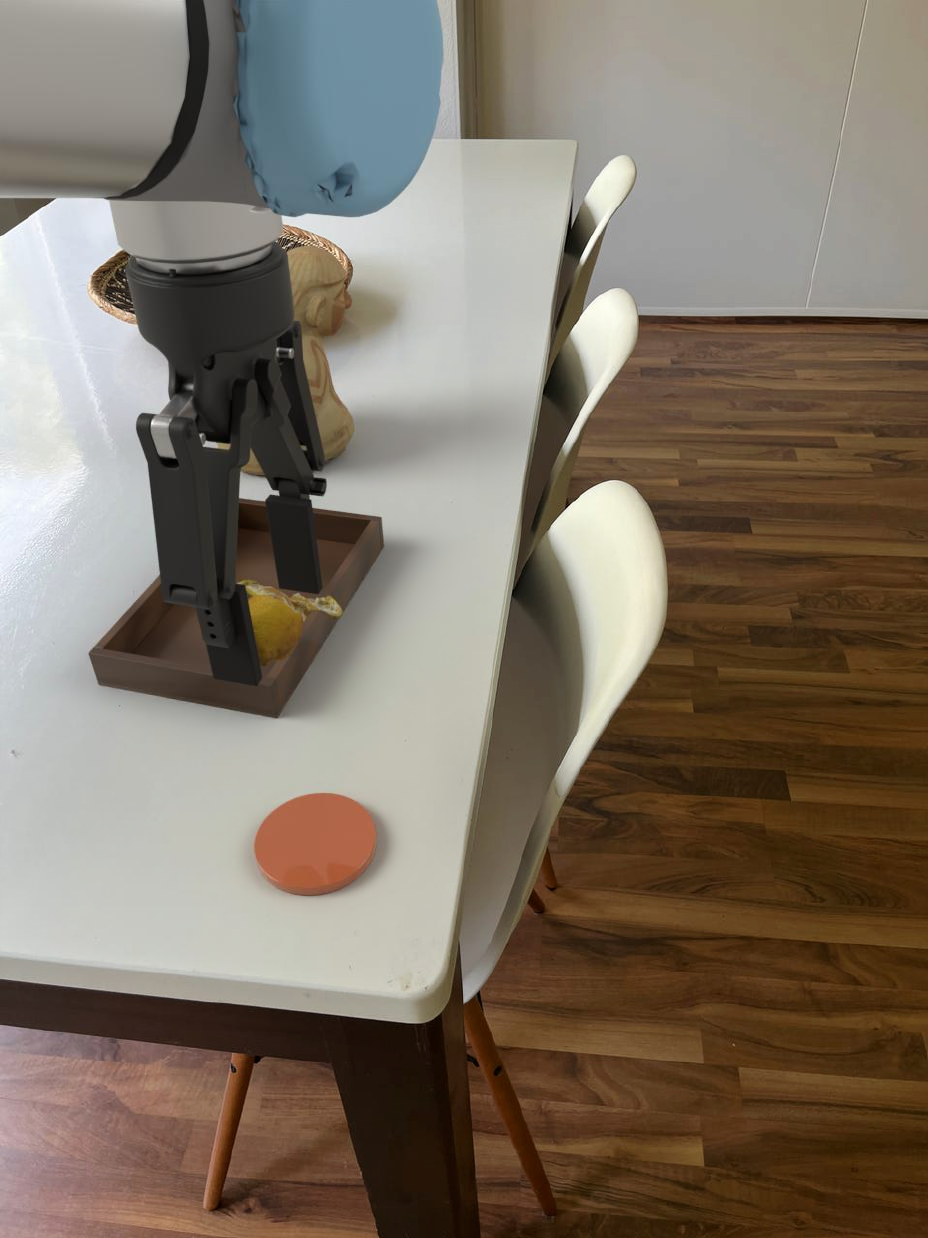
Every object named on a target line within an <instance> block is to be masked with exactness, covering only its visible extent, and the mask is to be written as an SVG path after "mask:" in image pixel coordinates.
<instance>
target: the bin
mask: <svg viewBox="0 0 928 1238" xmlns="http://www.w3.org/2000/svg"><path fill="white" fill-rule="evenodd" d="M312 508H313V516H314V524H315V531H316V539H317V547H318V555H319V562H320V570H321V578H322V586H323V588H322V590H321V591H320V593H319V594H312V593H306V592H299V591H292V590H286V589H279V584H278V578H277V572H276V566H275V560H274V553H273V547H272V541H271V535H270V529H269V522H268V516H267V510H266V504H265V500H257V499H250V498H243V497H239V511H238V533H237V555H236V577H235V583H238V582H242V581H243V580H251V581H257V582H258V583H260V585H262V586H270V587H273V588H275V589H277V590H279V591H281V592H283V593H284V594H286V595H287V596H288V597H289V598H291V597H292V596H293V595H294V594H297V593H300V595H301V596H303V597H304V598H306V599H314V600H316V598H323V597H324V598H325V597H327V596H331V597H332V598H333V599H334V600H336V602H337V603H338V605H339V606H340V607H341V609H342V614H343V613H344V612H345V610H346V608H347V607H348V605H349V604H350V602H351V601H352V599H353V597H354V595H355V594H356V592H357V590H358V589H359V587H360V586H361V584H362V583H363V581H364V580H365V578H366V577H367V574H368V573H369V572H370V570H371V568H372V567H373V565H374V563H375V562H376V561H377V559H378V557H379V555H380V554H381V552H382V551H383V549H384V547H385V541H384V529H383V528H384V527H383V519H382V518H383V517H382V516H379V515H378V516H377V515H369V514H362V513H356V512H355V513H354V512H348V511H347V512H346V511H340V510H333V509H324V508H317V507H312ZM340 618H341V616H340V617H339V618H335V619H334V618H333V617H332V616H331V615H329V614H328V613H327V612H325V611H323V610H312V611H311V612H310V613H309V615H308V616H307V618H306V620H305V621H304V622H303V623H302V624H303V626H302V637H301V639H300V640H299V641H298V642H297V643H296V645H295V646H294V648H293V649H292V650H291V653H290V654H291V655H290V656H287V657H286V658H284V659H282V660H279V661H278V660H273V661H271V662H270V663H269V664H267V665H266V666H261V665H260V667H261V672H262V680H261V681H260V683H259V684H258V686H252V685H246V684H241V683H235V682H229V681H224V680H218V679H214V678H213V674H212V669H211V665H210V661H209V656H208V652H207V648H206V644H205V642H204V641H203V640H202V635H201V630H200V624H199V621H198V617H197V613H196V608H195V607H192V606H185V605H179V604H173V603H167V602H165V601H164V600H163V596H162V588H161V579H160V574H159V575H158V576H157V577H156V578H155V579H154V580H153V582H152V583H150V585H149V586H147V588H146V589H145V590H144V591H143V592H142V593H141V595H140V596H139V597H138V598H137V599H136V600H135V601H134V602H133V603H132V604H131V606H130V607H128V608H127V610H126V611H125V612H124V614H122V616H120V618H119V619H118V620H117V621H116V622H115V623H114V624H113V625H112V627H110V628H109V630H108V631H107V632H105V634H104V635H103V636H102V637H101V638H100V640H99V641H98V642H96V644H95V645H94V646H93V647H92V648H91V649H90V651H88V653H87V654H88V657H89V661H90V663H91V666H92V669H93V672H94V676H95V678H96V681H97V684H98V685H100V686H103V687H109V688H114V689H120V690H125V691H130V692H136V693H142V694H147V695H152V696H157V697H163V698H167V699H172V700H178V701H183V702H188V703H189V702H190V703H195V704H199V705H206V706H211V707H216V708H221V709H226V710H232V711H236V712H237V711H238V712H241V713H242V712H243V713H246V714H247V713H248V714H253V715H258V716H264V717H270V718H275V719H278V717H279V716H280V715H281V712H282V711H283V709H284V708H285V706H286V704H287V703H288V701H289V700H290V698H291V697H292V695H293V693H294V692H295V690H296V688H297V687H298V685H299V684H300V682H301V680H302V679H303V677H304V676H305V674H306V672H307V671H308V669H310V666H311V665H312V663H313V661H315V658H316V657H317V656H318V654H319V652H320V650H321V649H322V647H323V645H324V644H325V642H326V641H327V639H328V637H329V636H330V634H331V632H332V631H333V629H334V627H335V626H336V624H337V623H338V621H339V620H340Z"/></svg>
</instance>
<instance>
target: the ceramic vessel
mask: <svg viewBox="0 0 928 1238" xmlns="http://www.w3.org/2000/svg"><path fill="white" fill-rule="evenodd" d="M286 252H287V254H288V262H289V270H290V278H291V286H292V294H293V303H294V311H295V316H294V320H295V321H299V322H300V324H301V329H302V345H303V361H304V365H305V370H306V374H307V379H308V383H309V388H310V392H311V397H312V401H313V406H314V410H315V415H316V419H317V424H318V428H319V433H320V437H321V442H322V446H323V451H324V455H325V462H327V461H329V460H331V459H333V458H337V457H339V456H340V455H342V454H343V453H344V452H345V451H346V450H347V447H348V445H349V443H350V442H351V440H352V438H353V437H354V434H355V423H354V419H353V417H352V414H351V413H350V411H349V409H348V407H347V406H346V405H345V404H344V402H343V401H342V400H341V399H340V397H339V395H338V393H337V391H336V390H335V386H334V384H333V383H334V382H333V380H332V375H331V369H330V363H329V360H328V357H327V355H326V351H325V349H324V345H323V341H322V340H323V338H325V337H334V336H335V335H336V334H337V333H338V331H339V330H340V329H341V328H342V325H343V323H344V321H345V312H346V310H348V309H350V308H351V307H352V304H353V299H352V295H351V294H350V293H349V292H348V290H347V289H346V287H345V280H346V278H347V271H346V269H345V267H344V266H343V264H342V263H341V261H340V260H339V259H338V257H336V256H335V255H334V254H333V253H331V252H330V251H328V250H326V249H325V248H322V247H320V246H314V245H303V246H298V247H294V248H292V249H289V250H288V251H286ZM216 446H217V448H219V449H229V448H230V444H224V443H216ZM300 446H301V445H300ZM301 448H302V449H303V450H307V449H306V446H301ZM240 472H244V473H247V474H251V475H257V476H265V475H264V473H263V471H262V469H261V467H260V465H259V463H258V461H257V459H256V457H255V455H254V453H253V451H252V449H251V447H250V459H249V462H248V463H247V464H246V465H245V466H243V467H242V468H241V470H240Z"/></svg>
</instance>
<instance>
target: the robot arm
mask: <svg viewBox="0 0 928 1238" xmlns="http://www.w3.org/2000/svg"><path fill="white" fill-rule="evenodd" d="M443 64H444V34H443V26H442V20H441V13H440V9H439V3H438V0H0V199H103V200H106V201H108V202H109V203H108V204H109V207H110V212H111V217H112V221H113V226H114V231H115V236H116V241H117V245H118V246H119V247H120V248H121V249H122V250H123V251H124V252H126V253H127V254H128V255H131V256H130V257H129V260H128V262H127V263H126V264H125V268H124V269H125V275H126V280H127V285H128V289H129V292H130V297H131V302H132V306H133V311H134V315H135V320H136V325H137V328H138V331H139V334H140V335H141V337H142V338H143V339H144V340H145V341H146V342H147V343H148V344H150V345H151V346H153V347H154V348H155V349H156V350H158V351H159V352H160V353H161V354H162V355H163V356H164V357H165V359H166V361H167V364H168V365H167V366H168V385H167V392H168V393H167V395H168V399H169V401H168V403H167V404H166V405H165V406H164V408H163V409H162V410H161V411H160V412H159V413H151V412H141V413H140V414H139V415H138V416H137V418H136V422H135V432H136V435H137V437H138V441H139V444H140V446H141V449H142V451H143V455H144V457H145V460H146V463H147V472H148V480H149V481H148V482H149V489H150V497H151V506H152V507H151V508H152V517H153V525H154V534H155V543H156V552H157V561H158V571H159V575H160V579H161V588H162V596H163V600H164V601H165V602H167V603H173V604H179V605H185V606H192V607H195V608H196V613H197V617H198V621H199V624H200V630H201V635H202V639H203V641H204V642H205V644H206V647H207V652H208V656H209V661H210V665H211V669H212V674H213V678H214V679H218V680H224V681H229V682H235V683H241V684H246V685H252V686H258V684H259V683H260V681H261V680H262V672H261V667H260V661H259V656H258V651H257V645H256V640H255V635H254V629H253V624H252V619H251V613H250V608H249V602H248V597H247V592H246V586H245V585H243V584H236V583H235V577H236V555H237V533H238V511H239V498H240V488H241V468H242V467H243V466H245V465H246V464H247V463H248V462H249V459H250V447H251V449H252V451H253V453H254V455H255V457H256V459H257V461H258V463H259V465H260V467H261V469H262V471H263V473H264V475H263V476H264V477H265V479H266V481H267V483H268V484H269V487H270V488H271V491H275V492H278V494H269V495H268V496H267V497H266V498H265V500H264V501H265V504H266V510H267V516H268V522H269V529H270V535H271V541H272V547H273V553H274V560H275V566H276V572H277V578H278V584H279V589H286V590H292V591H299V592H306V593H312V594H319V593H320V591H321V590H322V588H323V586H322V578H321V570H320V562H319V555H318V547H317V539H316V531H315V524H314V516H313V508H314V507H313V502H312V501H313V500H312V499H311V497H310V496H315V497H322V498H323V497H324V496H325V494H326V493H327V486H328V484H327V479H326V478H324V477H316V476H314V473H315V472H322V471H323V470H324V468H325V465H326V461H325V455H324V451H323V446H322V442H321V437H320V433H319V428H318V424H317V419H316V415H315V410H314V406H313V401H312V397H311V392H310V388H309V383H308V379H307V374H306V370H305V365H304V361H303V345H302V329H301V324H300V322H299V321H295V320H294V316H295V311H294V303H293V294H292V286H291V278H290V270H289V262H288V254H287V252H288V251H286V249H285V248H284V247H282V245H281V244H280V243H279V242H278V241H277V240H278V239H279V238H280V237H281V235H282V234H283V233H284V223H283V216H284V217H291V218H299V217H302V216H305V215H306V214H309V215H319V216H332V217H343V218H360V217H364V216H367V215H372V214H375V213H378V212H379V211H381V210H382V209H384V208H386V207H388V206H389V205H390V204H392V202H394V201H395V200H396V199H397V198H398V197H399V196H400V195H401V194H402V193H403V192H404V191H405V190H406V188H407V187H409V185H410V184H411V183H412V181H413V179H414V178H415V176H416V175H417V173H418V172H419V170H420V168H421V166H422V164H423V162H424V160H425V159H426V156H427V154H428V151H429V148H430V146H431V143H432V140H433V137H434V134H435V130H436V127H437V122H438V119H439V113H440V108H441V96H440V92H441V85H442V70H443ZM206 442H209V443H216V444H217V443H224V444H230V448H229V449H219V448H218V447H211V446H204V445H205V444H206ZM300 445H301V446H306V449H307V450H303V449H302V448H301V446H300Z"/></svg>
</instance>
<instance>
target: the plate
mask: <svg viewBox="0 0 928 1238" xmlns="http://www.w3.org/2000/svg"><path fill="white" fill-rule="evenodd" d="M377 836H378V835H377V829H376V824H375V822H374V819H373V818H372V815H371V814H370V812H369V811H368V810H367V809H366V807H365V806H363V805H362V804H361V803H360V802H358V801H357V800H355V799H353V798H351V797H349V796H345V795H343V794H338V793H332V792H314V793H308V794H307V793H306V794H303V795H300V796H296V797H294V798H292V799H289V800H287V801H286V802H283V803H282V804H280V805H279V806H277V807H276V808H275V809H273V810H271V812H270V813H269V814H268V815H267V816H266V817H265V818H264V820H263V821H262V822H261V823H260V825H259V827H258V830H257V832H256V835H255V837H254V844H253V851H254V857H255V860H256V861H255V862H256V865H257V867H258V870H259V872H260V874H261V875H262V877H264V879H265V880H266V881H267V882H268V883H269V884H270V885H272V886H273V887H275V888H277V889H278V890H281V891H283V892H286V893H288V894H294V895H299V896H319V895H325V894H328V893H333V892H335V891H338V890H340V889H342V888H344V887H347V886H348V885H349V884H351V883H352V882H354V881H356V880H357V879H358V878H360V876H361V875H362V874H363V873H364V872H365V871H366V870H367V868H368V867H369V866H370V864H371V862H372V860H373V859H374V857H375V854H376V850H377V844H378V837H377Z"/></svg>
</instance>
